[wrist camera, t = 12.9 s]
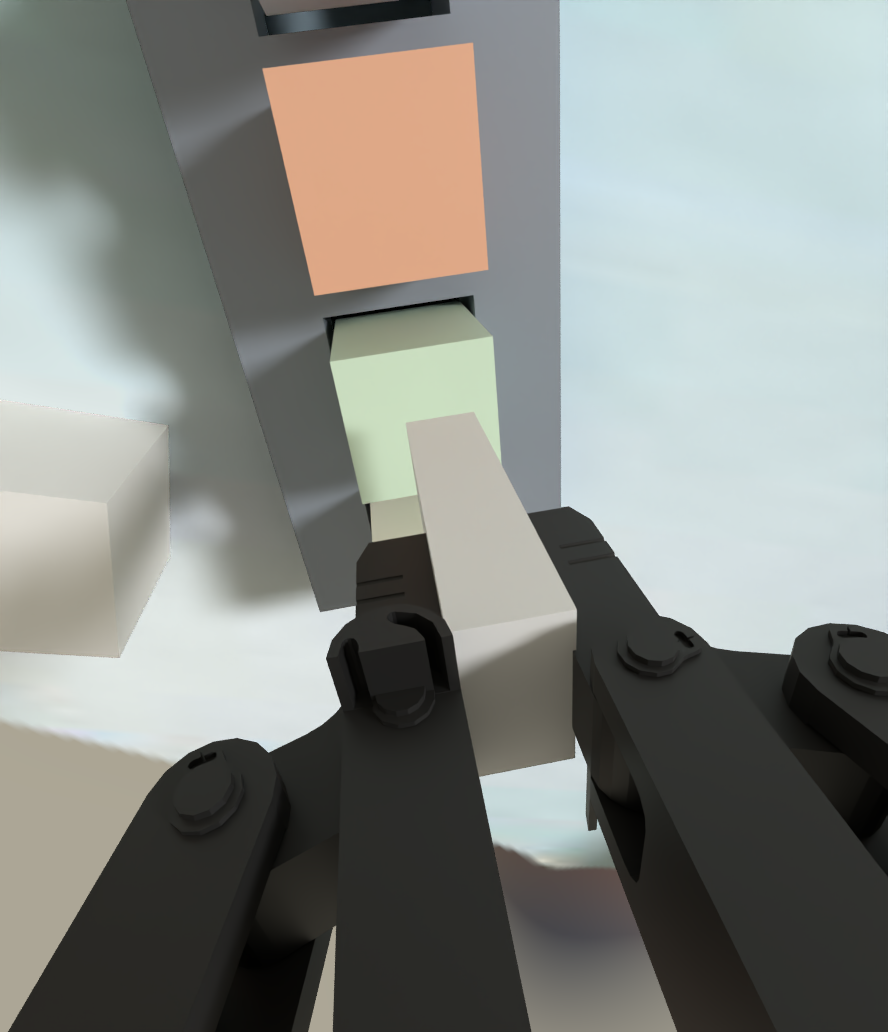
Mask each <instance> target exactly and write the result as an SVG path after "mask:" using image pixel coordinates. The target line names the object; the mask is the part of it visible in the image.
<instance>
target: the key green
mask: <svg viewBox="0 0 888 1032" xmlns="http://www.w3.org/2000/svg"><path fill="white" fill-rule="evenodd" d="M330 365H331V370H332V374H333V378H334V383H335V387H336V391H337V396H338V400H339V404H340V409H341V413H342V417H343V422H344V426H345V431H346V435H347V439H348V444H349V448H350V452H351V457H352V461H353V465H354V470H355V474H356V478H357V483H358V487H359V491H360V496H361V500H362V504H367V503H373V502H378V501H384V500H390V499H396V498H402V497H407V496H413V495H417V489H416V483H415V477H414V471H413V465H412V459H411V453H410V447H409V441H408V435H407V429H406V423H407V422H413V421H419V420H426V419H432V418H438V417H444V416H450V415H457V414H463V413H469V412H474V413H475V415H476V417H477V419H478V421H479V423H480V424H481V426H482V428H483V430H484V432H485V434H486V436H487V438H488V440H489V442H490V444H491V446H492V448H493V449H494V451H495V453H496V455H497V457H498V459H499V461H500V463H501V449H500V434H499V419H498V404H497V390H496V375H495V360H494V345H493V336H492V335H491V334H490V333H489V332H488V331H487V330H486V328H485V327H484V326H483V325H482V324H481V323H480V322H479V321H478V320H477V319H476V318H475V317H474V316H473V315H472V314H471V313H470V312H469V311H468V309H467V308H466V307H465V306H464V305H463V304H462V303H461V302H460V301H454V302H447V303H441V304H434V305H428V306H421V307H414V308H408V309H401V310H395V311H388V312H382V313H375V314H369V315H362V316H355V317H349V318H342V319H336V321H335V328H334V335H333V342H332V349H331V356H330ZM501 465H502V463H501Z"/></svg>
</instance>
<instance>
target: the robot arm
mask: <svg viewBox="0 0 888 1032" xmlns="http://www.w3.org/2000/svg"><path fill="white" fill-rule="evenodd" d="M406 429H407V435H408V441H409V447H410V453H411V459H412V465H413V471H414V477H415V483H416V489H417V495H418V501H419V507H420V513H421V519H422V525H423V531H424V533H423V534H417V535H411V536H405V537H400V538H394V539H388V540H382V541H376V542H371V543H368V545H367V546H366V548H365V550H364V551H363V553H362V554H361V556H360V558H359V559H358V561H357V562H356V585H357V587H356V604H357V605H356V618H355V619H353V620H352V621H350V622H349V623H347V624H346V625H345V626H344V627H343V628H342V629H341V630H340V632H339V633H338V634H337V635H336V636H335V637H334V638H333V640H332V642H331V645H330V648H329V651H328V654H327V657H326V660H327V663H328V666H329V669H330V672H331V675H332V679H333V682H334V685H335V688H336V691H337V694H338V697H339V700H340V703H341V707H340V709H339V710H338V711H337V712H336V713H335V714H334V715H333V716H332V717H331V718H330V719H329V720H327V721H326V722H325V723H324V724H323V725H321V726H320V727H318V728H316V729H315V730H313V731H311V732H310V733H308V734H306V735H304V736H302V737H300V738H298V739H296V740H294V741H292V742H290V743H288V744H286V745H284V746H282V747H279V748H277V749H275V750H273V751H271V752H269V753H268V752H267V751H266V750H265V749H264V748H263V747H261V746H260V745H259V744H258V743H257V742H252V741H248V740H243V739H239V738H235V739H228V740H222V741H215V742H212V743H210V744H208V745H205V746H203V747H201V748H199V749H197V750H195V751H192V752H190V753H188V754H187V755H186V756H185V757H183V758H182V759H181V760H180V761H178V762H177V763H176V764H174V765H173V766H172V767H171V768H169V769H168V770H167V771H166V772H165V773H164V774H163V776H162V777H161V778H160V779H159V781H158V782H157V783H156V785H155V786H154V787H153V788H152V790H151V791H150V792H149V793H148V795H147V796H146V798H145V800H144V801H143V803H142V805H141V807H140V809H139V810H138V812H137V814H136V815H135V817H134V818H133V820H132V822H131V824H130V825H129V827H128V829H127V830H126V832H125V834H124V835H123V837H122V839H121V841H120V842H119V844H118V846H117V847H116V849H115V851H114V853H113V854H112V856H111V858H110V859H109V861H108V863H107V864H106V866H105V868H104V870H103V871H102V873H101V875H100V876H99V878H98V880H97V882H96V883H95V885H94V887H93V888H92V890H91V892H90V894H89V895H88V897H87V898H86V900H85V902H84V904H83V905H82V907H81V909H80V911H79V912H78V914H77V916H76V917H75V919H74V921H73V922H72V924H71V926H70V927H69V929H68V931H67V932H66V934H65V936H64V938H63V939H62V941H61V943H60V944H59V946H58V948H57V949H56V951H55V953H54V955H53V956H52V958H51V960H50V961H49V963H48V965H47V966H46V968H45V970H44V972H43V973H42V975H41V977H40V978H39V980H38V982H37V984H36V985H35V987H34V989H33V990H32V992H31V994H30V995H29V997H28V999H27V1001H26V1002H25V1004H24V1006H23V1007H22V1009H21V1011H20V1012H19V1014H18V1016H17V1017H16V1019H15V1021H14V1023H13V1024H12V1026H11V1028H10V1029H9V1031H8V1032H308V1030H309V1025H310V1021H311V1017H312V1013H313V1009H314V1004H315V1000H316V996H317V992H318V988H319V983H320V979H321V975H322V970H323V967H324V962H325V958H326V954H327V949H328V946H329V941H330V937H331V933H332V929H333V927H334V926H336V951H335V981H334V982H335V983H334V984H335V985H334V1012H333V1032H531V1028H530V1023H529V1018H528V1013H527V1008H526V1003H525V999H524V994H523V989H522V984H521V979H520V975H519V970H518V965H517V960H516V955H515V950H514V945H513V941H512V935H511V930H510V926H509V921H508V916H507V911H506V906H505V902H504V896H503V891H502V887H501V882H500V877H499V873H498V867H497V862H496V858H495V852H494V848H493V843H492V838H491V833H490V828H489V823H488V818H487V813H486V809H485V804H484V799H483V794H482V789H481V784H480V779H479V777H480V776H485V775H490V774H495V773H500V772H506V771H511V770H516V769H521V768H526V767H531V766H536V765H541V764H546V763H552V762H557V761H562V760H567V759H572V758H575V736H576V738H577V741H578V743H579V746H580V748H581V751H582V753H583V756H584V758H585V761H586V763H587V790H586V818H587V825H588V831H591V830H596V829H597V819H598V822H599V825H600V827H601V830H602V832H603V835H604V838H605V840H606V843H607V846H608V848H609V851H610V854H611V856H612V859H613V862H614V864H615V867H616V870H617V872H618V875H619V878H620V880H621V883H622V886H623V888H624V891H625V894H626V896H627V899H628V902H629V904H630V907H631V910H632V912H633V915H634V918H635V920H636V923H637V926H638V928H639V931H640V934H641V936H642V939H643V941H644V944H645V947H646V950H647V952H648V955H649V957H650V960H651V963H652V966H653V968H654V971H655V974H656V976H657V979H658V981H659V984H660V986H661V990H662V992H663V995H664V998H665V1000H666V1003H667V1006H668V1008H669V1011H670V1013H671V1016H672V1019H673V1022H674V1024H675V1027H676V1030H677V1032H888V634H886V633H884V632H880V631H877V630H873V629H869V628H865V627H862V626H858V625H849V624H832V623H829V624H824V625H820V626H815V627H811V628H808V629H807V630H805V631H804V632H803V633H802V634H800V635H799V636H798V637H797V638H796V639H795V642H794V645H793V649H792V652H791V655H783V654H768V653H754V652H739V651H730V650H724V649H717V648H713V647H710V645H709V644H708V643H707V642H706V641H705V640H704V639H703V638H702V637H701V636H699V635H698V634H697V633H696V632H695V631H694V630H693V629H692V628H690V627H688V626H686V625H684V624H682V623H680V622H677V621H675V620H673V619H671V618H667V617H662V616H659V615H658V613H657V612H656V611H655V609H654V608H653V606H652V605H651V604H650V602H649V601H648V599H647V598H646V597H645V595H644V594H643V592H642V591H641V589H640V588H639V587H638V585H637V584H636V582H635V581H634V580H633V578H632V577H631V575H630V574H629V573H628V571H627V570H626V568H625V567H624V565H623V564H622V563H621V561H620V560H619V558H618V557H615V555H614V551H613V550H612V549H611V547H610V546H609V544H608V543H607V542H606V541H604V537H603V536H602V534H601V533H600V532H599V530H598V529H597V527H596V526H595V525H594V523H593V522H592V520H591V519H589V518H587V517H586V516H584V515H582V514H581V513H579V512H577V511H576V510H574V509H572V508H570V507H569V506H568V507H562V508H557V509H551V510H545V511H539V512H533V513H526V511H525V509H524V507H523V505H522V503H521V501H520V499H519V497H518V496H517V494H516V492H515V490H514V488H513V486H512V484H511V482H510V480H509V478H508V476H507V474H506V472H505V471H504V469H503V467H502V465H501V463H500V461H499V459H498V457H497V455H496V453H495V451H494V449H493V448H492V446H491V444H490V442H489V440H488V438H487V436H486V434H485V432H484V430H483V428H482V426H481V424H480V423H479V421H478V419H477V417H476V415H475V413H474V412H469V413H463V414H457V415H450V416H444V417H438V418H432V419H426V420H419V421H413V422H407V423H406Z"/></svg>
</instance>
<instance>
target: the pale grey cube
mask: <svg viewBox="0 0 888 1032" xmlns="http://www.w3.org/2000/svg"><path fill="white" fill-rule="evenodd" d="M170 556H171V541H170V478H169V425H164V424H157V423H151V422H144V421H138V420H131V419H125V418H118V417H111V416H105V415H98V414H92V413H85V412H79V411H72V410H65V409H59V408H52V407H46V406H39V405H33V404H26V403H20V402H13V401H6V400H0V651H8V652H25V653H42V654H59V655H76V656H94V657H111V658H120V656H121V654H122V652H123V650H124V648H125V646H126V644H127V642H128V640H129V638H130V636H131V634H132V632H133V630H134V628H135V626H136V624H137V622H138V620H139V618H140V616H141V614H142V612H143V610H144V608H145V606H146V604H147V602H148V600H149V598H150V596H151V594H152V592H153V590H154V588H155V586H156V584H157V582H158V580H159V578H160V576H161V574H162V572H163V570H164V568H165V566H166V564H167V562H168V560H169V558H170Z"/></svg>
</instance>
